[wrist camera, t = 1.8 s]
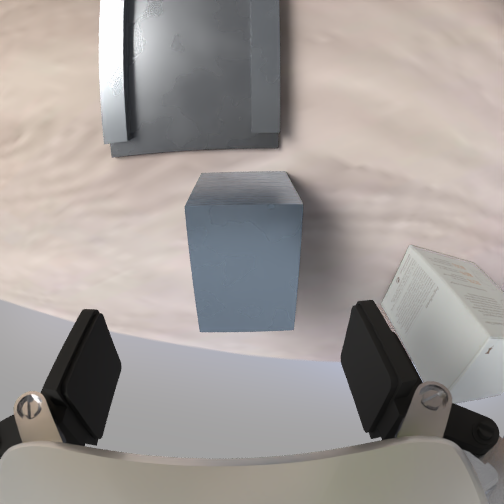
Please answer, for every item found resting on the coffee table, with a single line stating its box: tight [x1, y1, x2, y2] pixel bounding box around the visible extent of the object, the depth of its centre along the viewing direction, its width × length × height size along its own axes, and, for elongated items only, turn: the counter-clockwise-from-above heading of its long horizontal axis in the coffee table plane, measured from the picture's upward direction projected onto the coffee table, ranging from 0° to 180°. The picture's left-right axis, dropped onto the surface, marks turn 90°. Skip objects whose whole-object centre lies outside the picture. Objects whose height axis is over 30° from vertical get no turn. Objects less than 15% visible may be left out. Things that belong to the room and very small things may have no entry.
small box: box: [381, 245, 504, 404], centre depth 18 cm, size 8×6×10 cm
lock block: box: [185, 171, 303, 332], centre depth 17 cm, size 5×7×6 cm
